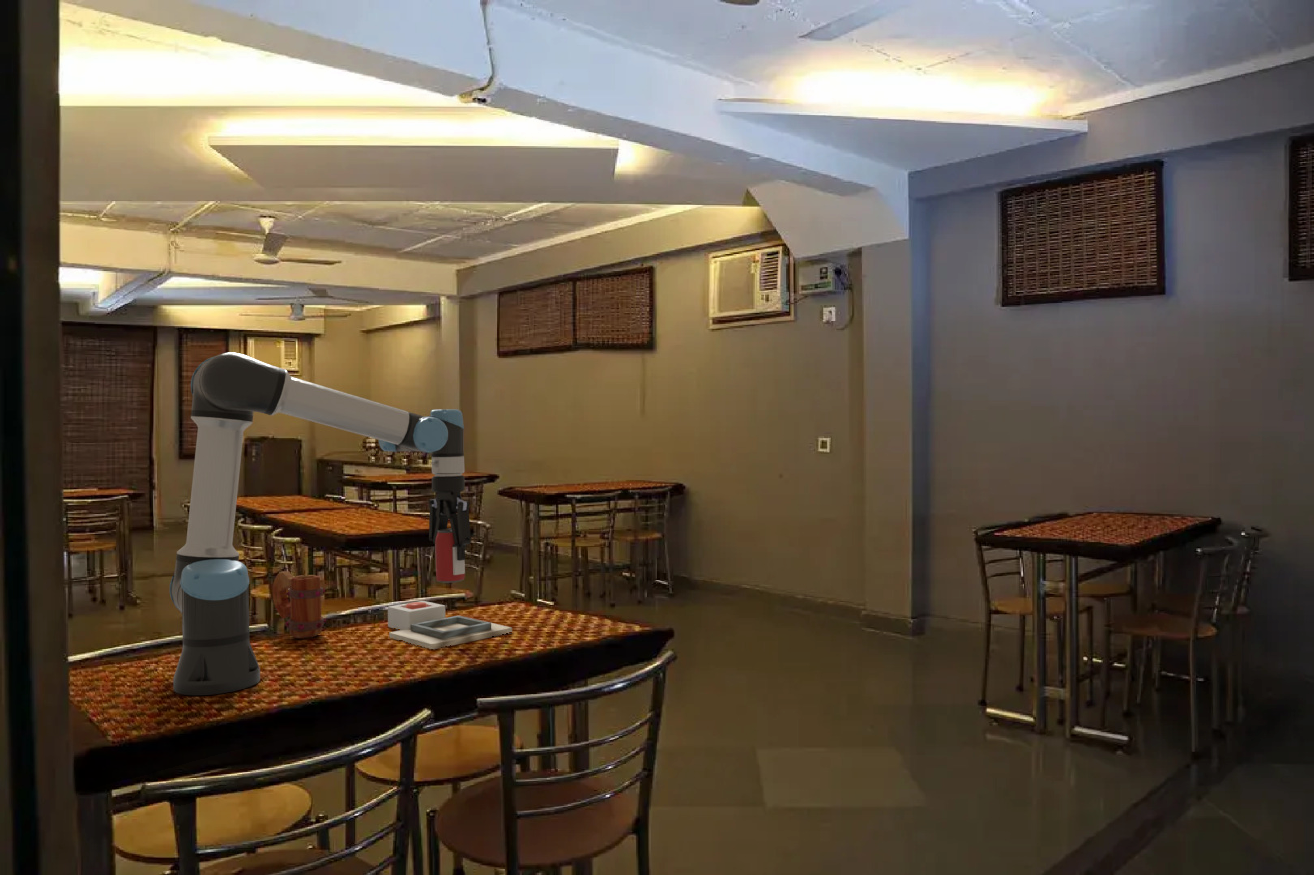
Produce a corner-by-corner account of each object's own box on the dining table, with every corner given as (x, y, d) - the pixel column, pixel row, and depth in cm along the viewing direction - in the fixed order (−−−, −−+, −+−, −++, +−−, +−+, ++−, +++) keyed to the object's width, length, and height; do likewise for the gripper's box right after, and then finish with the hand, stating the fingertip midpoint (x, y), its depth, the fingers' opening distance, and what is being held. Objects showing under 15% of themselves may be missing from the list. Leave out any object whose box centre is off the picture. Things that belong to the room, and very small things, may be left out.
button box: (409, 632, 223) (409, 611, 223) (388, 626, 230) (387, 606, 230) (445, 625, 231) (445, 605, 231) (423, 620, 238) (423, 600, 238)
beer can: (433, 580, 222) (432, 529, 221) (461, 577, 224) (460, 527, 224) (439, 584, 216) (438, 532, 215) (467, 581, 218) (466, 530, 218)
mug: (334, 634, 223) (332, 571, 222) (306, 642, 215) (305, 577, 215) (290, 629, 229) (289, 568, 229) (263, 636, 222) (261, 573, 222)
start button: (413, 621, 227) (413, 606, 227) (402, 618, 230) (402, 604, 230) (430, 617, 231) (430, 603, 231) (419, 615, 234) (419, 601, 234)
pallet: (431, 649, 206) (431, 637, 206) (389, 637, 218) (389, 626, 218) (512, 632, 222) (511, 621, 222) (468, 622, 234) (468, 611, 234)
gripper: (411, 474, 224) (414, 570, 224) (458, 476, 210) (460, 579, 210) (438, 473, 229) (440, 566, 229) (485, 475, 216) (487, 574, 216)
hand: (450, 572), depth 220 cm, fingers closed on beer can, 6 cm apart
